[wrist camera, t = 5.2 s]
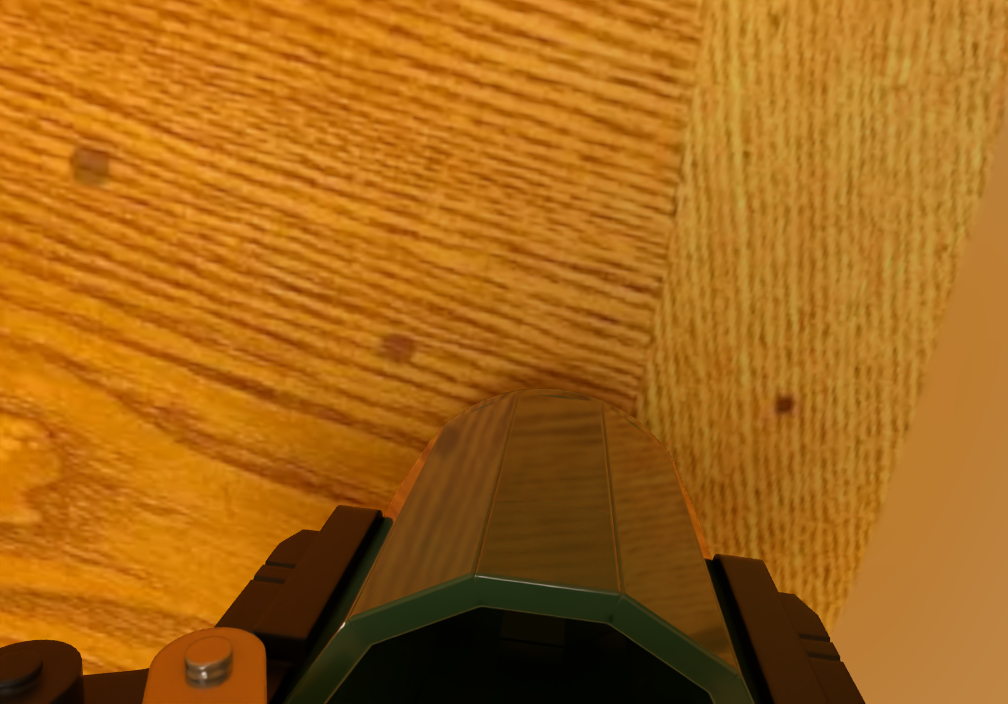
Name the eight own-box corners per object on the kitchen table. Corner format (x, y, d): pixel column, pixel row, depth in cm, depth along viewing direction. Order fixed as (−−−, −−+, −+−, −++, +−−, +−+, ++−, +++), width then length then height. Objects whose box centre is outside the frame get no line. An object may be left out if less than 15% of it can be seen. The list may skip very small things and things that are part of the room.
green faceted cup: (711, 405, 13) (832, 621, 7) (666, 662, 15) (734, 1032, 8) (413, 371, 14) (276, 546, 7) (398, 625, 15) (274, 951, 9)
